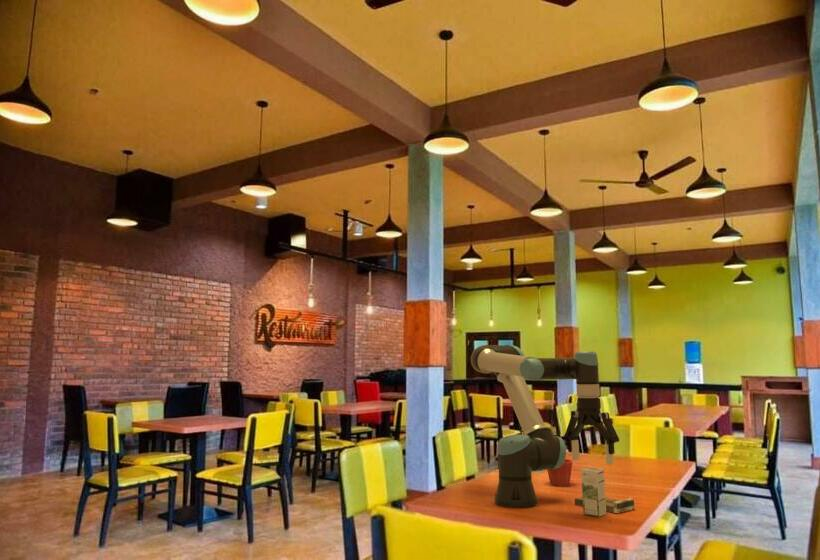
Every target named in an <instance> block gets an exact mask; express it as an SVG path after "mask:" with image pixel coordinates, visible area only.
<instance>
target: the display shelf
mask: <svg viewBox="0 0 820 560" xmlns="http://www.w3.org/2000/svg"><path fill="white" fill-rule="evenodd" d="M605 500H606V511H607V512H606V513H611V512H612V513H611V514H615V513H618V514H621V513H620V512H622V513H625V512H624V511H626V512H630V511H633V510H632V509H634V510H635V508H636V507H635V498H633V497H631V498H630V497H629V498H626V499H616V498H610V497H606V496H605ZM574 505H576V506H581V507H583V496H580V497H575V498H574ZM629 510H630V511H629Z"/></svg>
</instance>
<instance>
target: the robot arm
mask: <svg viewBox="0 0 820 560" xmlns="http://www.w3.org/2000/svg"><path fill="white" fill-rule="evenodd" d="M470 363H471V364H470V365H471V366H472V368H473V369H474V370H475V371H476V372H478V373H481V374H493V375H495V377H496V379H497V381H498V382H499V383H501V384H503V387H504V389H505V391H506V394H507V396H508V398H509V401H510V404H511V406H512V408H513V411H514V412H515V415H516V418H517V420H518V422H519V425H520V427H521V430H522V432H523V433H524V435H523V434H511V435H507V436H503V437H501V438H499V440H498V441H497V442H498V443H497V450H496V451H497V464H498V483H497V488H496V493H495V494H494V504H495V505H497V506H499V507H504V508H511V509H512V508H513V509H525V508H526V509H527V508H532V507H535V506H538V502H539V501H538V496H537V495H536V491H535V488H534V484H533V481H532V478H533V477H532V473H531V471H539V470H543V471H548V470H552V469H555V468H559V467H561V466H562V465H563V463H564V461H565V459H567V458H566V457H567V456H566V455H567V447H566V443H565V441H564V440H563V438H562V437H560V436H558V435H554V433H553V431H552V428H551V427H549V426H547V425H546V424H545V422H544V420H543V418H542V416H541V413H540V411H539V409H538V406H537V405H536V402H535V400H534V398H533V395H532V394H531V391H530V389H529V387H528V384H527V383H526V382H527V381H545V380H548V381H549V380H551V381H552V380H575V384H576V387H575V388H576V396H577V398H576V403H577V409H578V410H571V412H570V419H569V422H568V425H567V428H566V430H565V433H564V437H565V438H568V440H569V446H570V450H571V454H572V455H571V457H572V461H577V460H580V443H579V439H578V437H579V435H580V433H581V432H582V430H583V429H584V427H585V426H591V427H592V426H594V427H595V428H596V429H597V430H598V432H599V434H600V435H601V436H602V438H603V439H604V440H605V442H606V443H605V444H604V448H605V449H604V450H605V462H606V465H607V466H610V465H614V463H615V462H614V454H615V444H616V443H618V442H620V438H619V436H618V433H617V431H616V430H615V428H614V425H613V423H612V421H611V419H610V418H611V417H610V413H609V412H605V411H604V412H601V398H600V397H601V389H600V378H599V377H600V375H599V360H598V353H596V352H595V351H591V350H590V351H589V350H588V351H587V350H586V351H584V350H583V351H576V352H575V353H574V357H533V356H525V355H524V352H523V351H522V350H521V348H520V347H518V346H516V345H512V344H504V345H500V344H499V345H498V344H484V345H480V346H477V347H476V348H475V349H474V350H473V351H472V353H471V355H470Z"/></svg>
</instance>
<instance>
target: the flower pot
mask: <svg viewBox="0 0 820 560" xmlns="http://www.w3.org/2000/svg"><path fill="white" fill-rule="evenodd" d="M572 468H573V459H572V460H571V459H568V458H565V461H564V463H563V465H562V466H561V467H559V468H555V469H552V470H547V476H548V479H549V484H550V485H551V484H552V486H555V485H557V487H567V485H568V486H570V482H571V475H572Z"/></svg>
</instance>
